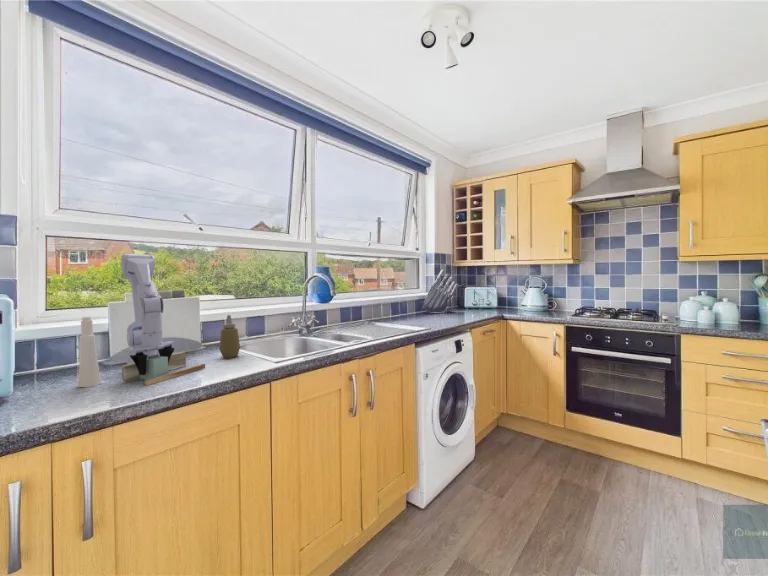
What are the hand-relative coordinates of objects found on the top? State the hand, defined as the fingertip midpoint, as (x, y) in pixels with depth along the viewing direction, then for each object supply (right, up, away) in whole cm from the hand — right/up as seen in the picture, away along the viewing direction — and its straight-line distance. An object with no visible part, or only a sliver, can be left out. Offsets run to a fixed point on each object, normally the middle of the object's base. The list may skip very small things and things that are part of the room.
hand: (153, 371), depth 116 cm
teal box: (0, -2, 0) cm, 2 cm away
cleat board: (+2, -2, +4) cm, 5 cm away
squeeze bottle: (+13, -1, +29) cm, 32 cm away
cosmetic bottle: (-16, -3, -7) cm, 18 cm away
